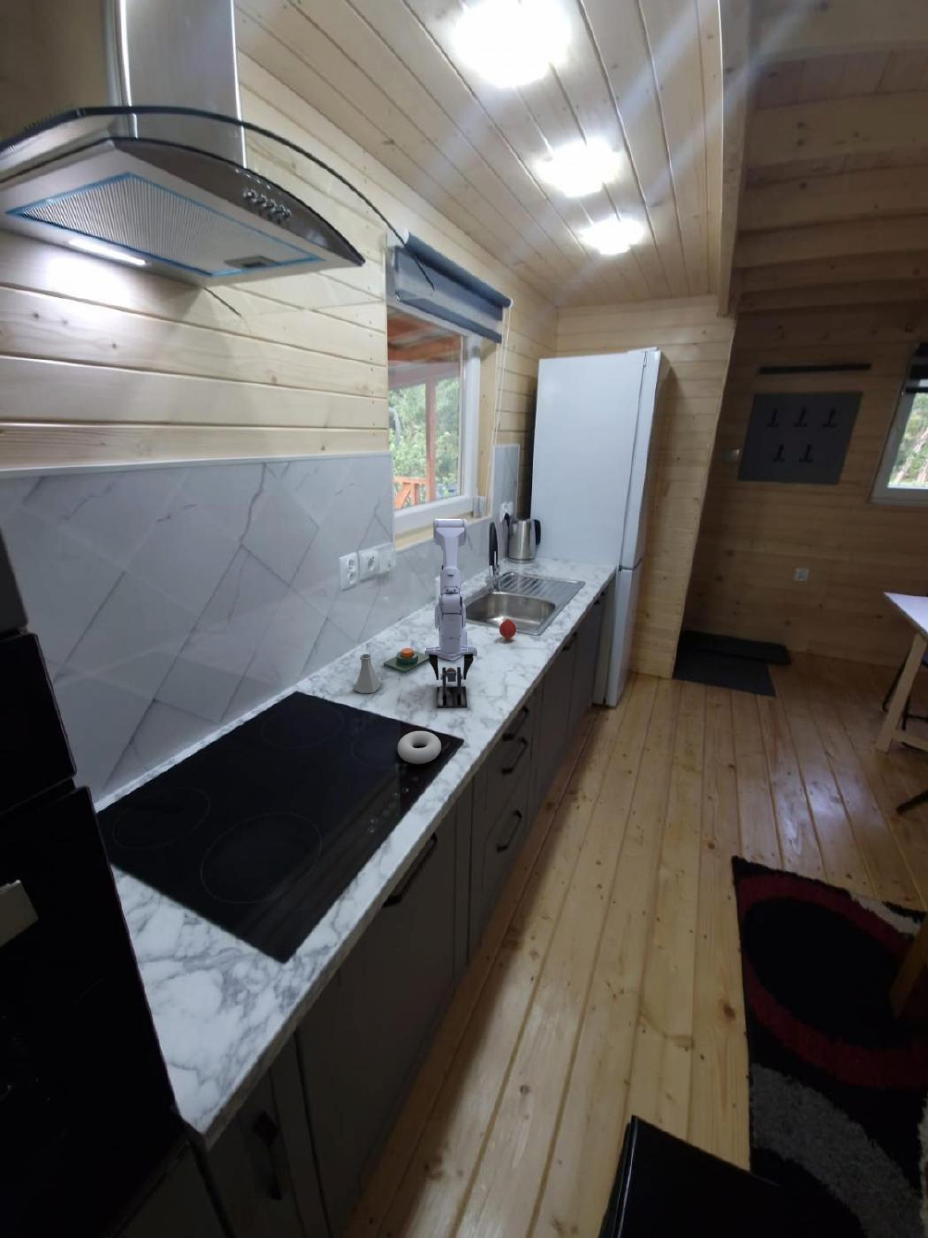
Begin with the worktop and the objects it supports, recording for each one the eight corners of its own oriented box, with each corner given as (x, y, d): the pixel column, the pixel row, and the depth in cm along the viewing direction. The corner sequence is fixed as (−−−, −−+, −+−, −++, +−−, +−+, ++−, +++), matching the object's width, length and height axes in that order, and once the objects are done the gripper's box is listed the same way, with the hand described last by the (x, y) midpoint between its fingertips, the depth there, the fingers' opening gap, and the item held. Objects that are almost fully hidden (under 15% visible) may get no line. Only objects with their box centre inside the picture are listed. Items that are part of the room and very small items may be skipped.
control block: (409, 652, 162) (409, 644, 160) (430, 660, 157) (430, 651, 156) (383, 666, 153) (383, 657, 151) (405, 674, 148) (405, 665, 147)
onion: (499, 635, 175) (500, 614, 172) (515, 636, 174) (517, 615, 171) (498, 642, 170) (499, 620, 166) (515, 643, 169) (516, 621, 166)
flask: (375, 695, 137) (373, 663, 133) (350, 692, 138) (347, 660, 134) (384, 682, 143) (382, 651, 139) (360, 680, 144) (358, 649, 141)
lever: (445, 678, 142) (445, 667, 142) (456, 678, 142) (456, 667, 142) (445, 683, 131) (445, 671, 131) (457, 683, 131) (457, 671, 131)
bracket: (437, 690, 140) (436, 662, 136) (465, 689, 140) (465, 662, 137) (436, 709, 130) (436, 680, 127) (467, 709, 131) (467, 679, 127)
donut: (410, 736, 119) (389, 760, 111) (409, 724, 118) (388, 747, 109) (448, 746, 116) (429, 771, 107) (448, 733, 115) (429, 758, 106)
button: (406, 652, 156) (406, 647, 155) (415, 655, 154) (415, 650, 153) (398, 656, 153) (398, 651, 153) (407, 659, 151) (407, 654, 151)
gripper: (424, 641, 132) (425, 685, 137) (478, 640, 132) (477, 684, 138) (424, 630, 138) (425, 673, 143) (476, 630, 139) (475, 672, 144)
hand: (451, 678), depth 141 cm, fingers open, 7 cm apart
